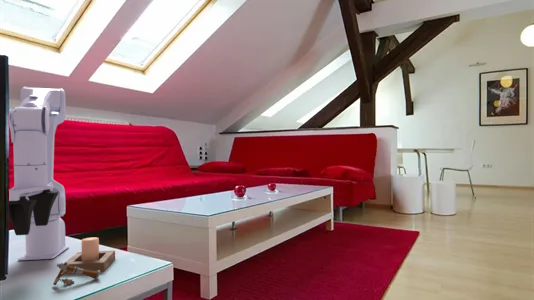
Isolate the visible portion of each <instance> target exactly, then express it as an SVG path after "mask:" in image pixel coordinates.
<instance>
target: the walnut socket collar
mask: <svg viewBox="0 0 534 300" xmlns="http://www.w3.org/2000/svg"><path fill="white" fill-rule="evenodd" d="M115 259H116V250H99V260H97V261H82V251H77V252H76V253H75V254H74V255H72V257H70V258H69V259H67V260H66V261H65V262H67V264H68V266H72V267H76V268H81V269H83V270H87V271H98V270H100V273H101V272H105V271H106V270H107V268H108V267H109V266H110V265H111V264H112V263H113V262H114V261H115ZM66 271H68V270H66ZM66 271H65V270H63V272H62V274H63V273H64V272H66ZM65 274H75V272H74V273H73V272H72V271H69V272H67V273H65ZM65 274H64V275H65Z"/></svg>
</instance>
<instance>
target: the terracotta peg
mask: <svg viewBox="0 0 534 300" xmlns="http://www.w3.org/2000/svg"><path fill="white" fill-rule="evenodd" d="M99 239H100V238H99V237H86V238H82V239H81V243H80V244H81V252H82V261H97V260H99V251H100V240H99Z"/></svg>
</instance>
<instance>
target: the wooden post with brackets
mask: <svg viewBox="0 0 534 300" xmlns="http://www.w3.org/2000/svg"><path fill="white" fill-rule="evenodd" d="M56 267H57V268H58V269H59V272H58V274H57V276H56V277H55V279H54V282H53V286H57V285H58V282H59V281H60V282H61V283H63V285H69V286H70V285H74V284H75V281H74V280H73V279H72V278H68V277H66V278H61V277H62V276H64V275H65V273H67V272H69V271H72V272H73V273H72V274H76V275H80V276H82V275H83V276H87V277H89V278H92V279H93V280H94V281H95V282H97V281H98V279H99V277H100V274H101V272H100V270H98V271H87V270H83V269H81V268H76V267H72V266H68V264H67V262H66V261H65V262H64V263H63V262H61V263H57V264H56ZM63 270H65V271H66V270H68V271H66V272H64V273H63V274H62V272H63ZM74 272H75V273H74Z"/></svg>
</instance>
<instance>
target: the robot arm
mask: <svg viewBox="0 0 534 300" xmlns="http://www.w3.org/2000/svg"><path fill="white" fill-rule="evenodd" d="M19 96H20V98H19V99H20V105H19V106H15V107H14V109H13V108H12V109H11V108H10V109H9V112H10V115H9V114H8V126H9V130H10V140H11V143H13V145H12V146H13V171H14V172H13V177H14V179H13V180H14V181H13V182H14V185H13V187H12V188H9V189H8V190H9V216H8V217H9V219H10V223H11V225H12V228H13V230H14V234H15V236H25V254H23V255H21V256H19V257H18V258H17V261H32V260H33V261H34V260H36V261H37V260H52V259H55V258H56V257H57V256H58V255H61V254H62V253H63V252H65V251H66V250H67V249H68V248H70V245H66V224H65V221H64V220H63V219H62V218H61V217H64V215H65V214H66V205H67V203H66V191H65V187H64V185H63V184H61V183H59V182H58V181H56V180H55V179H54V165H55V164H54V161H55V135H56V131H57V127H58V125H60V124H63V122H65V119H66V107H67V106H66V105H67V104H66V103H67V101H66V98H67V97H66V91H65V90H64V89H63V88H46V87H31V86H30V87H29V86H23V87H22V88H21V89H20V95H19Z"/></svg>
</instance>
